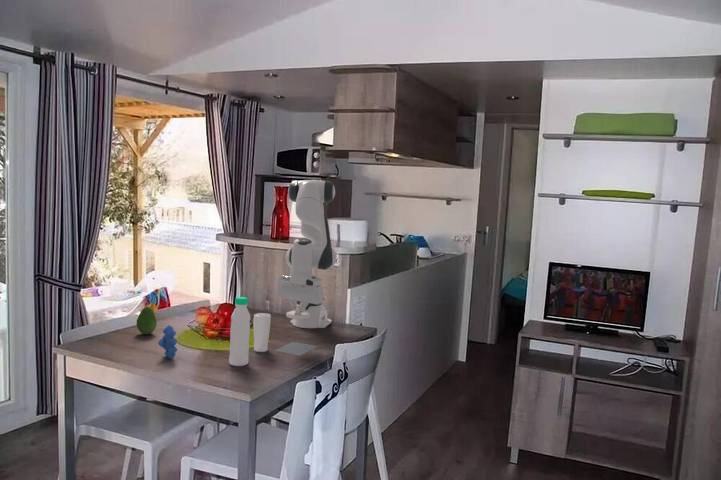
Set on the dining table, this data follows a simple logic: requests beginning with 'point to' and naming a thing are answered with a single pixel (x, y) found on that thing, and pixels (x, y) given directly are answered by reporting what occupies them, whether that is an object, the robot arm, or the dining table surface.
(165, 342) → the grapes
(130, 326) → the dining table surface
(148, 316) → the avocado
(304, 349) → the mat
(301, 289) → the robot arm
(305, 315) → the lid
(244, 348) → the water bottle
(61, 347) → the dining table surface
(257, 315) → the drinking glass
